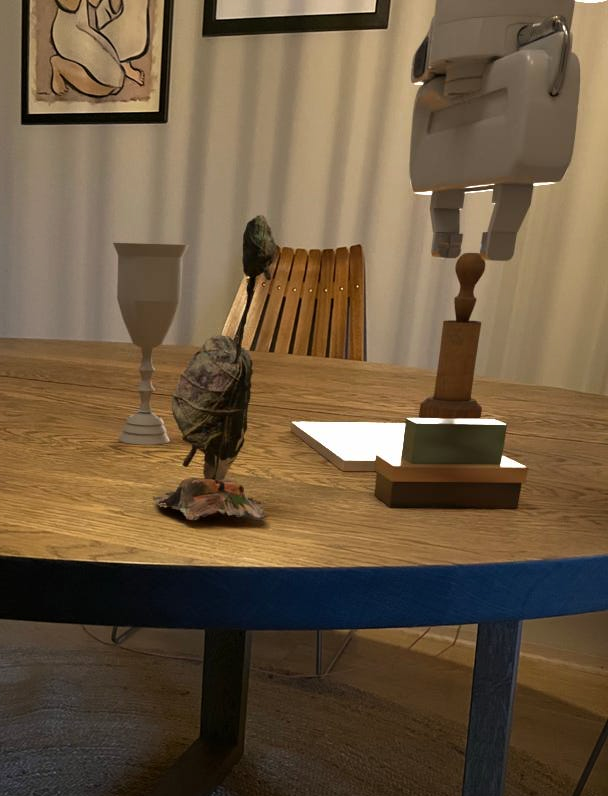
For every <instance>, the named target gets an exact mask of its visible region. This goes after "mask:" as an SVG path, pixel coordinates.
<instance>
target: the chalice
mask: <svg viewBox="0 0 608 796" xmlns="http://www.w3.org/2000/svg"><path fill="white" fill-rule="evenodd" d="M112 245H113V247H114V249H115V251H116V254H117V289H116V291H117V293H116V299H117V303H118V306H119V310H120V313H121V317H122V320H123V323H124V325H125V327H126V330H127V332H128V336H129V337H130V340H131V342H132V344H133V345H135V346H136V347H138V348H140V350H141V356H142V358H141V363H140V366H139V368H138V369H137V370H138V372H139V373H140V377H141V381H140V385H139V386H138V387H137V388H136V390H137V392H138V393H139V396H140V405H139V409H137V410H136V411H137V413H135V414H131V415H130V416H128V418H127V419H126V421H125V425H124V426H123V428H122V433H121V434H120V436H119V437H118V441H119V442H122V443H124V444H125V443H126V444H132V445H140V446H141V445H144V446H145V445H146V446H148V445H149V446H150V445H151V446H152V445H154V446H155V445H163V444H168V443H170V442H171V441H170V438H169V436H168V435H167V429H166V427H165V425H164V424H165V422H164V420H163V419H162V417H161V416H159V415H156V414H155V413H153V412H154V410H153V409H152V406H151V399H152V394H153V393H154V392H156V389H155V388H154V386H153V383H152V377H153V373H154V372H155V371H156V369H155V367H154V365H153V358H152V357H153V353H154V349H155V348H157V347H160V346H161V345H163V343H164V341H165V340H166V337H167V335H168V333H169V331H170V329H171V327H172V325H173V323H174V321H175V318H176V315H177V312H178V309H179V306H180V304H181V301H182V283H183V258H184V256H185V254H186V252H187V250H188V247H189V244H175V243H174V244H171V243H140V242H139V243H138V242H137V243H136V242H112Z"/></svg>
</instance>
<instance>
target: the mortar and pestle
mask: <svg viewBox="0 0 608 796" xmlns="http://www.w3.org/2000/svg"><path fill="white" fill-rule="evenodd" d="M454 269H455V274H456V277H457V280H458V283H459V290H458V291H459V292H458V294H457V295H456V296H455V297H454V298H453V299H454V300H453V304H454V313H455V314H454V315H455V320H454V319H453V320H451V319H449V320H448V319H447V320H443V322H442V330H441V337H440V347H439V355H438V362H437V369H436V377H435V384H434V390H433V391H434V392H433V395H431V396H428V397H427V398H425V399H424V400H423V401H422V402H421V403H420V404H419V412H418V417H417V418H432V419H482V411H483V410H482V409H483V406H482V405H480V404H479V403H478V401H477V399H475V398H472V394H473V392H472V391H473V385H474V379H475V378H474V376H475V370H476V362H477V355H478V348H479V342H480V335H481V330H482V329H481V328H482V321H479V320H470V319H471V316H472V314H473V311H474V309H475V306H476V303H477V297H475V294H474V291H475V287H476V285H477V284H478V283H479V281H480V279H481V278H482V276H483V275H484V274H485V270H486V260H483V259H482V258H481V257H480V252H464V253H462V254H460V255H459V256H458V259H457V260H456V263H455V267H454Z"/></svg>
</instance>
